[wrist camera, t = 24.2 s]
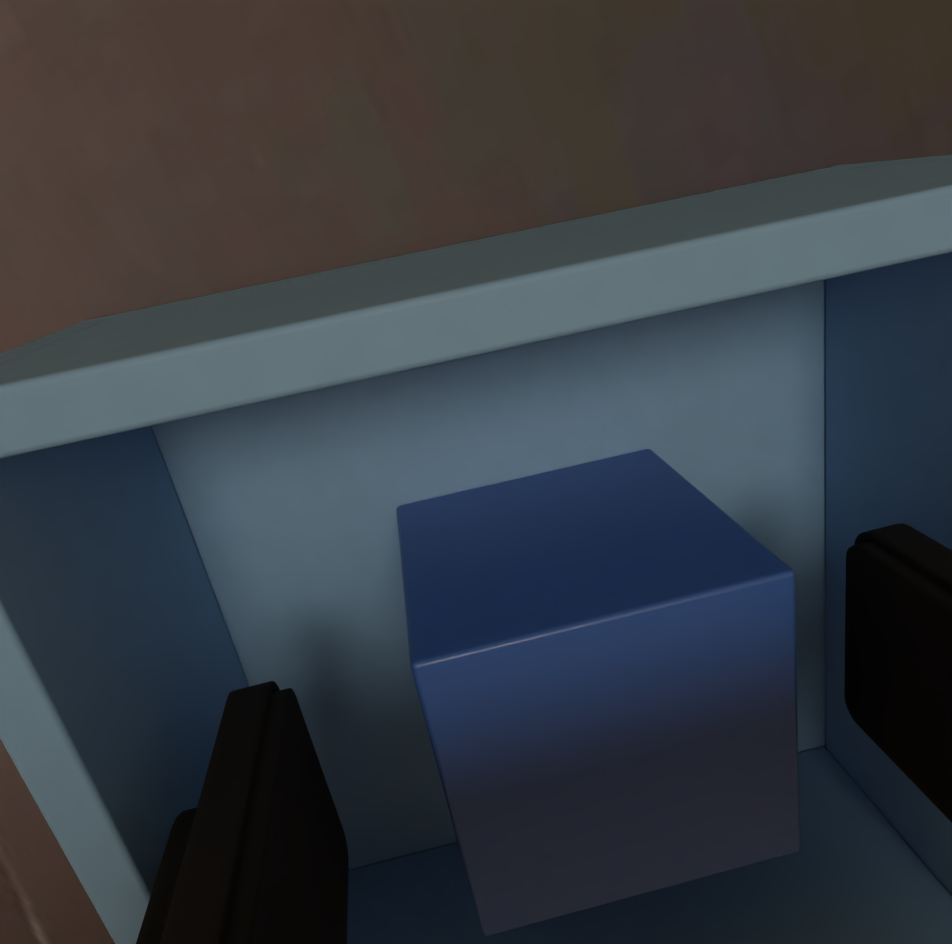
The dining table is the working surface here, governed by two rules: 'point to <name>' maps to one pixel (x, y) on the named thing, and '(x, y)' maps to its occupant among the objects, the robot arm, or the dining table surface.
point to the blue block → (601, 685)
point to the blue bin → (456, 470)
